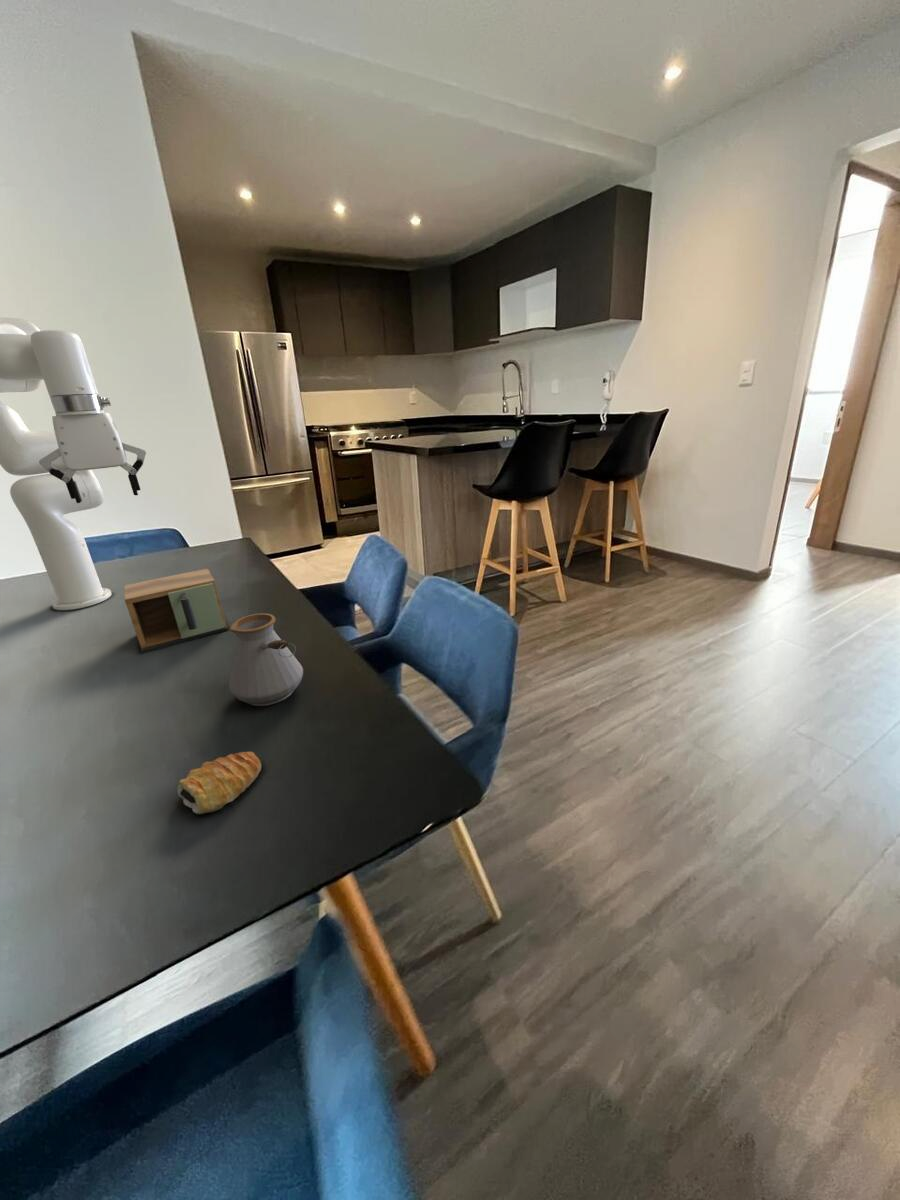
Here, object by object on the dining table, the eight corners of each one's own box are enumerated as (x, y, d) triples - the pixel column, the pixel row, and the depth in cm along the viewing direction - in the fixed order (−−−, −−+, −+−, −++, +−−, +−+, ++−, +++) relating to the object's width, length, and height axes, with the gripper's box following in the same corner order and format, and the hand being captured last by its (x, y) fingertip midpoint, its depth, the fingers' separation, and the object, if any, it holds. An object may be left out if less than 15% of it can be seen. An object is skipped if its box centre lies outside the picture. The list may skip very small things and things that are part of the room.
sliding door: (227, 634, 101) (215, 589, 97) (183, 646, 97) (169, 600, 93) (223, 626, 105) (212, 582, 101) (181, 637, 101) (167, 592, 97)
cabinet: (228, 630, 104) (215, 581, 100) (142, 652, 97) (124, 601, 93) (219, 613, 113) (207, 568, 109) (140, 632, 106) (124, 585, 101)
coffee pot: (224, 691, 82) (201, 609, 76) (291, 666, 88) (274, 589, 82) (266, 757, 66) (241, 659, 60) (344, 721, 72) (328, 630, 66)
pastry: (243, 755, 66) (237, 732, 65) (274, 774, 63) (268, 750, 61) (175, 801, 59) (166, 776, 58) (205, 825, 56) (197, 799, 54)
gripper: (131, 403, 99) (156, 489, 105) (23, 409, 90) (57, 502, 97) (131, 403, 93) (158, 494, 99) (16, 409, 84) (53, 508, 91)
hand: (108, 498), depth 98 cm, fingers open, 9 cm apart
